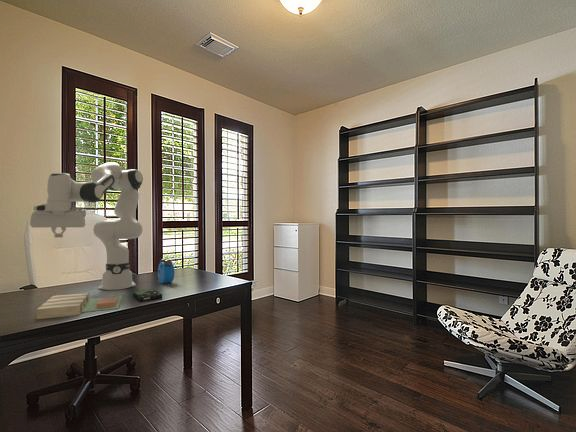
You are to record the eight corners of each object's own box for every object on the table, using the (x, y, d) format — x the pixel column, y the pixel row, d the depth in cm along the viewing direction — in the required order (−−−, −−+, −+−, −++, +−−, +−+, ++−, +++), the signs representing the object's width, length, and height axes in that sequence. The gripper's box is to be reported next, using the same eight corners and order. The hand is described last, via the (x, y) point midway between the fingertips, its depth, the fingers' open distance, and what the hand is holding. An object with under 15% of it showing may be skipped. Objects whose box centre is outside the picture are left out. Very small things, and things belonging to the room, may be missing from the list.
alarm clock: (174, 284, 182) (175, 259, 182) (164, 285, 178) (164, 260, 178) (167, 280, 192) (167, 257, 192) (157, 281, 188) (157, 258, 188)
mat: (89, 299, 146) (89, 298, 146) (122, 296, 152) (122, 295, 152) (80, 312, 126) (80, 311, 126) (118, 308, 132) (118, 307, 132)
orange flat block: (117, 296, 143) (116, 300, 143) (100, 298, 140) (99, 302, 140) (115, 302, 134) (114, 306, 134) (96, 303, 131) (96, 308, 131)
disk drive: (162, 299, 150) (153, 293, 161) (162, 294, 150) (153, 288, 161) (140, 303, 143) (132, 296, 154) (140, 297, 143) (132, 291, 154)
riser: (52, 304, 137) (52, 295, 137) (88, 301, 143) (88, 292, 143) (36, 319, 117) (36, 309, 117) (79, 314, 123) (79, 305, 123)
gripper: (87, 208, 145) (86, 236, 145) (34, 207, 136) (33, 237, 136) (84, 207, 139) (84, 237, 139) (29, 206, 130) (28, 238, 130)
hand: (58, 237), depth 137 cm, fingers closed
